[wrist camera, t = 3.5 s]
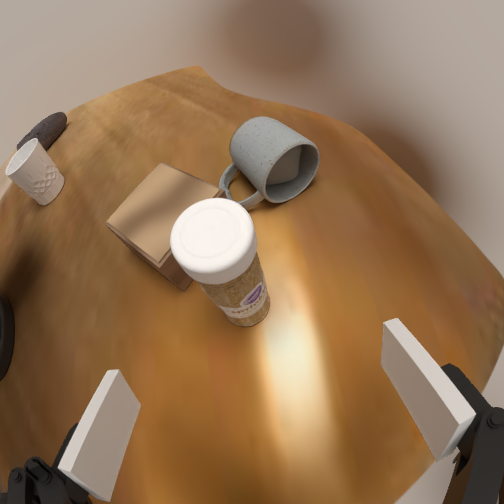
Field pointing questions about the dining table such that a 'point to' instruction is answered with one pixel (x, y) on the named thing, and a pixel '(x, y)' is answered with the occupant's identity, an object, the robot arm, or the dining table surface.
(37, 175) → the white cup
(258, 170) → the ceramic mug
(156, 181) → the tan block
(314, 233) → the dining table surface
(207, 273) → the sprinkles bottle
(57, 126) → the perforated stone tool
